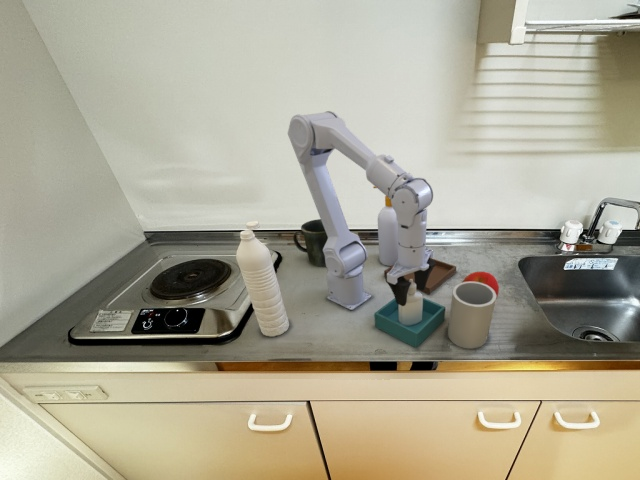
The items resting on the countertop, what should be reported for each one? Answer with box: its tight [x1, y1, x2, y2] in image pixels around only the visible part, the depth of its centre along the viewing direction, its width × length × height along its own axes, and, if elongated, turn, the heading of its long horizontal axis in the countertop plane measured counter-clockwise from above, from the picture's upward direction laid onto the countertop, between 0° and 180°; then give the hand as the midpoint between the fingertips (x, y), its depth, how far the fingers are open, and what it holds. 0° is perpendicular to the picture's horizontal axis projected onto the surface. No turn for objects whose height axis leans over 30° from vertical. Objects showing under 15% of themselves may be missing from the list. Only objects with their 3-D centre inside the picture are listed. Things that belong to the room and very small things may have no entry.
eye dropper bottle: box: [399, 279, 424, 326], centre depth 74 cm, size 4×6×12 cm
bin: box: [374, 297, 446, 349], centre depth 76 cm, size 12×12×4 cm
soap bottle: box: [372, 185, 398, 267], centre depth 97 cm, size 9×9×24 cm
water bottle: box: [235, 220, 290, 337], centre depth 70 cm, size 9×6×25 cm
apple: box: [462, 271, 500, 300], centre depth 78 cm, size 9×9×12 cm
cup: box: [447, 281, 497, 350], centre depth 71 cm, size 9×9×12 cm
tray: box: [383, 257, 457, 295], centre depth 96 cm, size 16×15×2 cm
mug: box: [292, 218, 328, 267], centre depth 101 cm, size 11×15×12 cm
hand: (410, 296), depth 73 cm, fingers open, 7 cm apart
